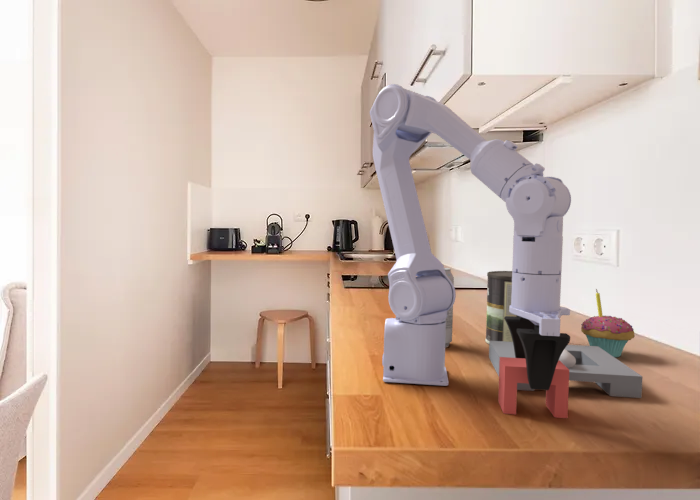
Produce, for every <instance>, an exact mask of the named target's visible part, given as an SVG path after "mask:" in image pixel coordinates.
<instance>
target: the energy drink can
mask: <svg viewBox="0 0 700 500" xmlns="http://www.w3.org/2000/svg"><path fill="white" fill-rule="evenodd" d="M444 269H445V273H446V275H447V276H448V278H449V279H450V280H451V282H452V283H453V285H455V283H454V282H455V281H454V279H455V278H454V275H453V273H452V271H451V270H452V268H450V267H444ZM453 316H454V305H453V306H452V307H451V309H449V310H448V311H447V318H446V334H445V348H448V347H449V346H450V344H451V343H452V342H453V324H454V323H453V318H454V317H453Z"/></svg>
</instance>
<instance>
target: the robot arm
mask: <svg viewBox="0 0 700 500" xmlns="http://www.w3.org/2000/svg"><path fill="white" fill-rule="evenodd" d="M369 116H370V120H371V123H372V129H373V139H372V140H373V142H372V143H373V144H372V158H373V163H374V167H375V174H376V177H377V180H378V181H377V182H378V185H379V190H380V194H381V198H382V202H383V207H384V211H385V216H386V221H387V223H388V229H389V233H390V237H391V238H390V239H391V240H392V241H391V242H392V246H393V250H394V254H395V259H396V262H395V263H394V264H393V266H392V267H391V269H390V270H389V271H388V273H387V277H388V283H389V288H388V289H389V290H388V296H387V297H388V304H389V307H390V310H391V311H392V313H393V314H394V315H395V318H393V317H389V318H385V320H384V321H385V322H384V332H383V354H382V361H381V362H382V364H381V366H382V367H383V376H382V381H383V382H385V383H398V384H399V383H400V384H413V385H414V384H415V385H428V386H445V387H446V386H449V378H448V372H447V367H446V365H445V364H446V347H445V334H446V318H447V311H448V310H449V309H451V307H452V306H453V307H454V305H455V302H456V288H455V286H454V285H455V284H454V285H453V283H452V282H451V280H450V279H449V278H448V276H447V275H446V273H445V269H444V268H445V266H444V264H443V263H442V262H441V261H440V260H439V259H438V257H436V256H435V255H434V254H433V253H432V249H431V246H430V240H429V238H428V231H427V229H426V225H425V221H424V216H423V211H422V208H421V205H420V199H419V196H418V191H417V189H416V184H415V179H414V175H413V172H412V167H411V164H410V158H411V156H412V154H413V153H415V152H416V151H417V150H418V148H420V146H421V145H422V144H423V143H424V142H425V141H426V140H427V139H428V138H429V137H430V136H431V135H432V134H435V135H437V136H439V137H440V138H441V139H442V140H443V141H445V142H446V143H447V144H448V145H450V146H452V147H453V148H454V149H455V150H457V151H458V152H459V153H461V154H462V155H463V156H464V157H466V158H467V159H469V160H470V161H469V162H470V169H469V170H470V172H471V174H472V175H473V176H474V177H475V178H477V180H479V181H480V183H482V184H483V185H484V186H486V188H487V189H489V190H490V191H491V192H492V193H494V194H495V195H496V196H497V197H498V198H499V199H500V200H502V201H503V202H504V203H505V207H506V210H507V212H508V214H509V215H510V216H511V218H512V220H513V238H512V239H513V240H512V244H513V246H512V267H511V268H512V270H511V271H512V295H511V305H510V306H509V312H510V313H512V314H514V315H516V317H515V316H506V317H504V319H505V321H506V323H507V325H508V328H509V330H510V333H511V337H512V341H513V346H514V352H515V358H526V367H527V377H528V382H529V386H530V388H531V389H534V390H539V391H540V390H541V391H546V390H549V388H550V385H551V382H552V379H553V376H554V372H555V369H556V365H557V363H558V360H559V358H560V356H561V354H562V352H563V350H564V349H565V347H566V346H567V345H570V341H571V336H570V334H568V333H563V332H561V317H562V316H570V315H571V309H569V308H567V307H564V306H561V292H562V291H561V289H562V267H563V247H564V246H563V243H564V237H563V231H564V217H565V216H566V215H567V213H568V212H569V210H570V207H571V203H572V195H571V192H570V189H569V188H568V187H567V186H566V185H565V183H564V182H563V180H562V179H561V178H559V177H555V176H544V171H545V167H544V166H543V165H542V164H540V163H535V164H533V163H532V162H531V161H529V160H528V159H527V158H526V157H524V156H523V155H522V154H520V153H519V152H518V151H517V149H518V148H519V146H518V145H517V144H516V143H514V142H513V141H512V140H505V141H504V140H502V139H500V138H499V139H498V138H496V139H491V140H487V139H486V138H484V137H483V136H482V135H481V134H480V133H478V132H477V131H476V130H475V129H474V128H473V127H472V126H471V125H469V124H468V123H467V122H466V121H465V120H463V119H462V118H461V117H460V116H459V115H458V114H456V113H455V112H454V111H453V110H452V109H450V107H448V106H447V105H446V104H444V103H442V102H439V101H437V100H436V99H435V98H434V97H432V96H430V95H424V94H421V93H418V92H415V91H413V90H410V89H407V88H405V87H403V86H401V85H399V84H396V83H392V84H391V83H390V84H388V85H386V86H384V87H383V88H382V89H381V90H380V91H379V93H378V94H377V95H376V98H375V100H374V101H373V104H372V106H371V108H370V110H369Z"/></svg>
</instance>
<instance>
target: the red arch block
mask: <svg viewBox="0 0 700 500" xmlns="http://www.w3.org/2000/svg"><path fill="white" fill-rule="evenodd" d="M517 383H528V384H529V382H528V377H527V367H526V358H509V357H500V361H499V376H498V392H497V393H498V396H497V402H498V404H499V407H500V409H501V410H502V413H503V414H505V415H506V414H507V415H517V402H518V401H517V399H518V397H517V396H518V394H517V393H518V390H517ZM569 387H570V381H569V369H568V368H567V367H566V366H565V365H564V364H563V363H562V362H561V361H560V360H558V363H557V365H556V369H555V372H554V376H553V379H552V382H551V385H550V388H549V390H545V406H546V407H547V410H548V411H549V412H550V413H551V414H552V416H553V418H557V419H558V418H560V419H568V418H569V417H568V414H569V412H568V411H569V391H570V388H569Z"/></svg>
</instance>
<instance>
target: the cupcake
mask: <svg viewBox="0 0 700 500" xmlns="http://www.w3.org/2000/svg"><path fill="white" fill-rule="evenodd" d="M595 291H596V292H595V299H596V307H597V313H598V315H597V316H595V315H594V316H590V317H589V318H587V319H586V318H585V320H583V321H582V323H581V328H580V329H581V333H583V334H584V335H585V336H586V339H587V341H588V346H598V347H600V348H601V349H603V350H604V351H606V352H607V353H609V354H610V355H612V356H613V357H615V358H619V357H621V356H622V353H623V351H624V348H625V346H626V344H627V343H628V342H629V341H631V340H632V339H635V330H634V328H633V325H631V324H630V323H628V321H627V320H625V319H623V318H622V317H616V316H611V315H603V309H602V302H601V301H602V300H601V294H600V293H599V292H598V289H597V288H595Z"/></svg>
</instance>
